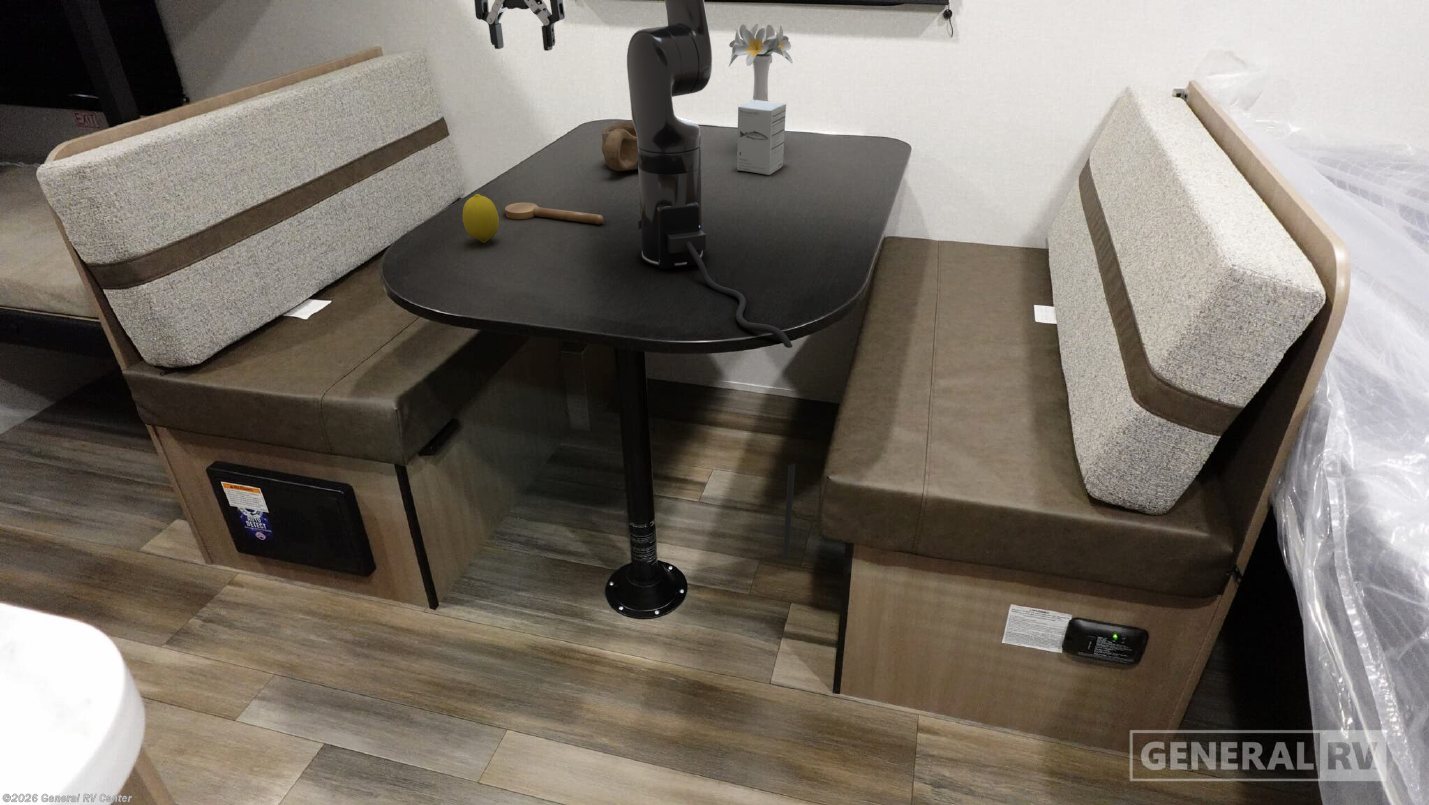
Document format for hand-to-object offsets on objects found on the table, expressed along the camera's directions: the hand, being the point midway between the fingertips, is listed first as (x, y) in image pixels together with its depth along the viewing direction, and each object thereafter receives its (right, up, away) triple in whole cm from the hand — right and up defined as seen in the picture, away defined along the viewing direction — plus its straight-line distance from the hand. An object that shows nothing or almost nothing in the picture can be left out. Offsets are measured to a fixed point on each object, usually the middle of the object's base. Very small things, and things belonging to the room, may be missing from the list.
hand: (523, 49), depth 144 cm
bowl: (+15, -11, +34) cm, 39 cm away
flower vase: (+40, -3, +47) cm, 62 cm away
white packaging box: (+40, -11, +34) cm, 54 cm away
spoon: (+3, -26, +8) cm, 27 cm away
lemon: (-6, -32, -1) cm, 33 cm away
